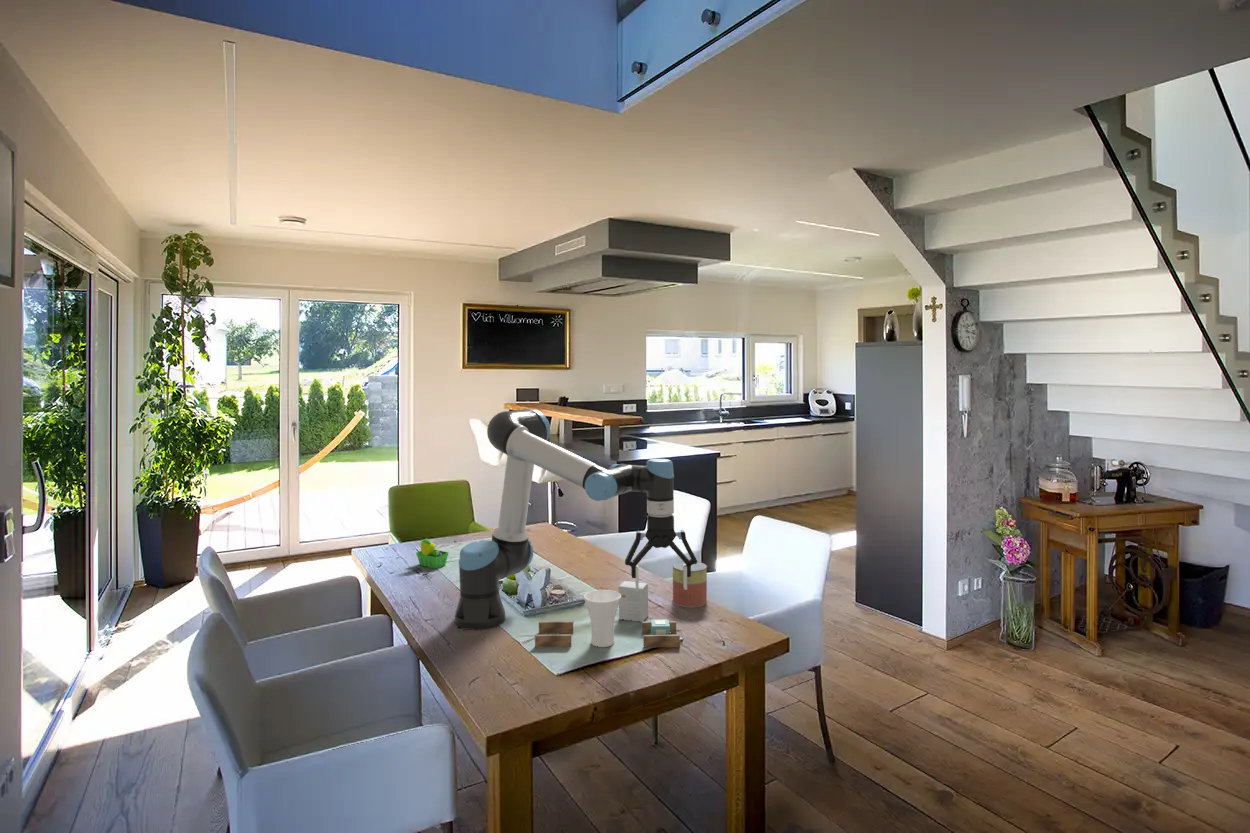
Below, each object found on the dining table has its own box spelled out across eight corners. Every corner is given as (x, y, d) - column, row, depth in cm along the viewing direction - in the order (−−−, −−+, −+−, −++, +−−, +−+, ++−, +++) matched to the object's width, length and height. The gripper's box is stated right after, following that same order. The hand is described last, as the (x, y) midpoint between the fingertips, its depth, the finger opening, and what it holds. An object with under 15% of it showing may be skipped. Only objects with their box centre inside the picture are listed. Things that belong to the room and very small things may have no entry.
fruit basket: (450, 565, 265) (449, 536, 264) (432, 571, 258) (432, 541, 257) (430, 560, 271) (429, 533, 270) (412, 566, 264) (411, 537, 263)
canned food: (713, 601, 224) (713, 565, 223) (692, 610, 216) (693, 573, 215) (686, 593, 232) (686, 558, 231) (665, 601, 223) (665, 566, 223)
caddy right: (643, 647, 187) (643, 636, 187) (641, 632, 198) (641, 621, 197) (679, 647, 187) (679, 635, 187) (676, 632, 198) (676, 621, 198)
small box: (648, 616, 211) (648, 583, 210) (643, 622, 205) (643, 588, 205) (624, 613, 213) (624, 580, 212) (618, 619, 208) (618, 585, 207)
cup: (607, 653, 183) (607, 604, 182) (576, 645, 189) (576, 597, 188) (628, 640, 192) (628, 593, 191) (597, 632, 198) (597, 587, 197)
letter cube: (652, 643, 190) (652, 626, 189) (650, 636, 195) (650, 619, 195) (669, 643, 190) (669, 625, 190) (668, 636, 195) (668, 618, 195)
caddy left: (535, 647, 187) (534, 635, 187) (539, 632, 198) (539, 621, 198) (571, 646, 188) (571, 635, 187) (573, 631, 198) (573, 621, 198)
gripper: (616, 518, 186) (617, 593, 187) (706, 516, 186) (707, 592, 188) (615, 512, 193) (616, 585, 195) (703, 510, 194) (703, 583, 195)
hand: (661, 588), depth 191 cm, fingers open, 13 cm apart
